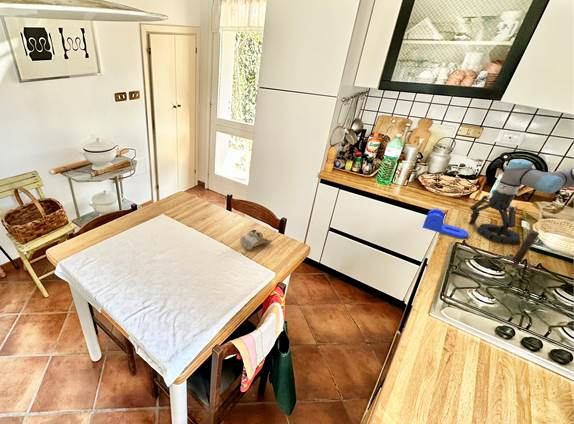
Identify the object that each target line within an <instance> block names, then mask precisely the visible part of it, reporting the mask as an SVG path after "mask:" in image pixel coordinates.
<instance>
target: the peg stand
mask: <svg viewBox="0 0 574 424" xmlns="http://www.w3.org/2000/svg"><path fill="white" fill-rule="evenodd" d="M539 235H540V232H538V231H537V230H536V231H535V230H530V231H529V233H528V234H527V235H526V237H525V239H524V241H523V242H522V244H521V245H520V247H519V248H518V250H517V251H516V253H514V254H515V255H513V254H510V255H505V256H504V255H503V256H500V257H501V258H505V259H509V260H511V261H513V260H514V261H513V262H514V263H507V264H508V265H509V266H512V267H513V268H514V269H517V270H518V271H520V270H522V269H521V268H520V266H519V265H518V264H519V262H520V263H522V262H523V261H524V258H525V256H526V255H527V253H528V252H529V250H530V249H531V248H532V246H533V244H534V242H535V241H536V240H537V238H538V237H539ZM515 261H516V262H515ZM527 266H528V268H527V269H529V268H533V267H534V265H532V264H530V263H528V262H527Z"/></svg>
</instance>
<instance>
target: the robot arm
mask: <svg viewBox="0 0 574 424" xmlns="http://www.w3.org/2000/svg"><path fill="white" fill-rule="evenodd" d="M533 165H534V164H533V162H531V161H529V160H525V159H511V160H510V161H509V163H508V164H507V167H505V170H504V171H503V174H502V176H501V178H500V180H499V181H498V183H497V185H496V187H495V189H494V191H493V193H492V194H491V196H490V195H489V194H487V195H483V196H482V197H481V199H480V200H478V201H477V202H476V203H475V204H473V205H472V206H471V207H470V208H469V210H471V211H472V213H471V215H470V218H471V219H470V221H469V222H468V224H469V225H473V224H475V223H476V222H477V220H478V218H479V215H480V214H481V213H480V212H481V211H484V210H486V209H488V208H489V209H490V208H491V209H494V210H495V211H497V212H498V213H499V214H500V217H501V221H502V225H500V226H501V227H500V229H499V230H498V232H496V233H495V234H496V235H499V236H503V233H504V232H506V231H507V229H511V228H515V227H516V219H517V217H516V215H517V210H518V207H517V206H513V205H511V203H512V202H513V201H514V199H515V197H516V195H517V193H518V192H519V190H520V188H521V186H522V185H523V186H525V187H527V188H531V189H533V190H536V191H538V192H541V193H545V194H549V195H551V194H555V193H556V192H558V191H560V190H561V189H569V188H574V167H571V168H568V169H564V170H557V171H541V170H538V169H535V168H533ZM487 201H488V202H489V203H487V204H485V203H486V202H487ZM483 204H485V205H483Z"/></svg>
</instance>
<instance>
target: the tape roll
mask: <svg viewBox="0 0 574 424" xmlns="http://www.w3.org/2000/svg"><path fill="white" fill-rule="evenodd" d="M501 226H502V225H498V224H493V223H481V224H479V227H478V228H477V233H478V235H479V236H481V237H483V238H485V239H487V240H490V241H491V242H494V243H497V244H501V245H507V246H513V245H517V244H518V243H519V242H520V240H521V235H520V234H518V233H517V232H515V230H512V229H511V228H508V229H507V231H506V232H504V233H503V234H502V235H501V236H499V235H496V234H497V232H498V230H499V229H500V227H501Z"/></svg>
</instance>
